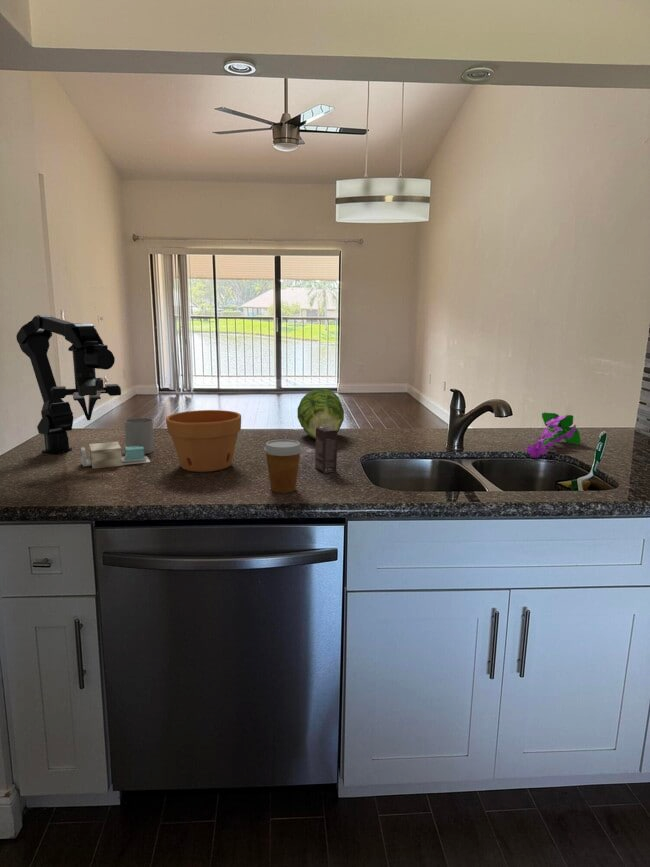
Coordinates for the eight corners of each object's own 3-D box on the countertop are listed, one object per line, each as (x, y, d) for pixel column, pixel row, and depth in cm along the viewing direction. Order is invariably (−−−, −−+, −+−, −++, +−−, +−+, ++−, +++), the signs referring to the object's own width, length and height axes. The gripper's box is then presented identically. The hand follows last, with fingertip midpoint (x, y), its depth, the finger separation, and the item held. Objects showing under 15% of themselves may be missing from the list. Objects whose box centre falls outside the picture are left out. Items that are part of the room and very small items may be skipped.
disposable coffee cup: (271, 496, 143) (271, 449, 140) (259, 485, 151) (259, 440, 149) (307, 492, 146) (307, 445, 144) (294, 481, 155) (294, 437, 152)
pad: (122, 464, 169) (122, 464, 169) (119, 459, 176) (119, 458, 175) (150, 462, 172) (150, 461, 172) (146, 456, 179) (146, 455, 179)
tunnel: (92, 468, 165) (91, 450, 164) (90, 461, 173) (89, 444, 172) (122, 465, 168) (121, 448, 167) (118, 458, 176) (117, 441, 175)
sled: (83, 466, 166) (81, 451, 165) (82, 462, 170) (80, 447, 169) (146, 460, 173) (145, 445, 172) (144, 456, 177) (143, 442, 176)
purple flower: (574, 451, 208) (548, 482, 180) (534, 424, 213) (504, 450, 186) (595, 425, 202) (572, 452, 174) (554, 397, 207) (526, 420, 179)
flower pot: (153, 471, 164) (150, 419, 160) (194, 453, 183) (192, 407, 180) (219, 479, 157) (217, 425, 153) (254, 460, 176) (253, 412, 173)
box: (337, 471, 165) (338, 429, 163) (323, 473, 163) (323, 431, 161) (328, 466, 170) (328, 425, 168) (314, 467, 168) (314, 427, 166)
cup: (145, 455, 181) (144, 423, 178) (121, 453, 182) (119, 422, 180) (158, 448, 189) (157, 418, 186) (135, 447, 190) (133, 417, 188)
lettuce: (321, 463, 198) (289, 429, 192) (316, 436, 219) (287, 405, 213) (359, 432, 195) (328, 398, 189) (350, 408, 216) (322, 376, 210)
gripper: (49, 371, 158) (54, 427, 161) (121, 368, 166) (125, 422, 169) (48, 367, 168) (53, 420, 171) (117, 365, 175) (120, 416, 179)
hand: (88, 420), depth 172 cm, fingers closed
